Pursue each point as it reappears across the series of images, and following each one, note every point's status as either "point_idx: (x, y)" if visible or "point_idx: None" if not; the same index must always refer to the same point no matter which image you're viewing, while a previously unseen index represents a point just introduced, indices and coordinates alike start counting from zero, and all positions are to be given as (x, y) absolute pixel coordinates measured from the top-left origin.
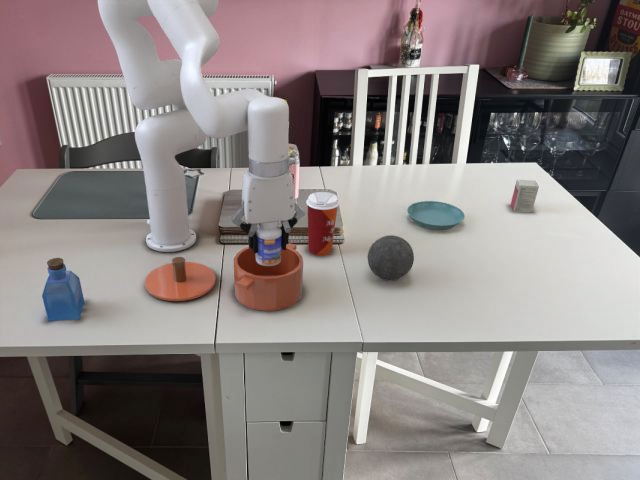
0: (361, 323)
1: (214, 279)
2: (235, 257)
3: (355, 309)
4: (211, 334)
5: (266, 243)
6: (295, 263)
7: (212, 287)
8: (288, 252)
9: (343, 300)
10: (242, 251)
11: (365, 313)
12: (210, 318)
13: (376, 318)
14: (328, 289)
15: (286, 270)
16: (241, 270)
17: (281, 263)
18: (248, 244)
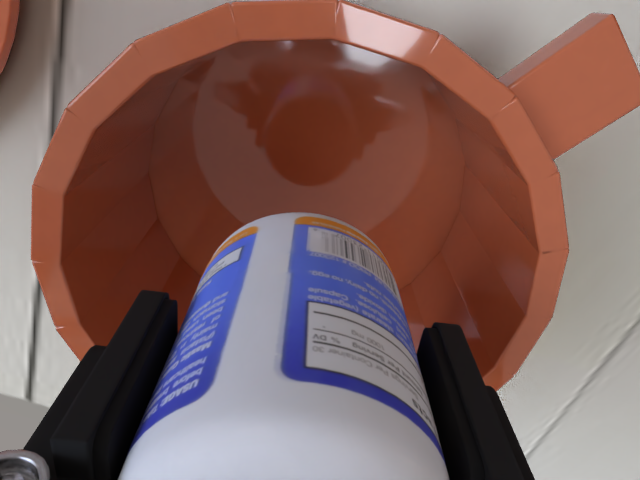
0: (536, 457)
1: (5, 3)
2: (48, 173)
3: (575, 399)
4: (14, 369)
5: None
6: (503, 236)
7: (2, 70)
8: (516, 178)
9: (578, 344)
10: (121, 94)
11: (589, 424)
12: (8, 287)
13: (599, 452)
14: (581, 260)
15: (462, 122)
16: (81, 350)
17: (453, 98)
18: (91, 349)
